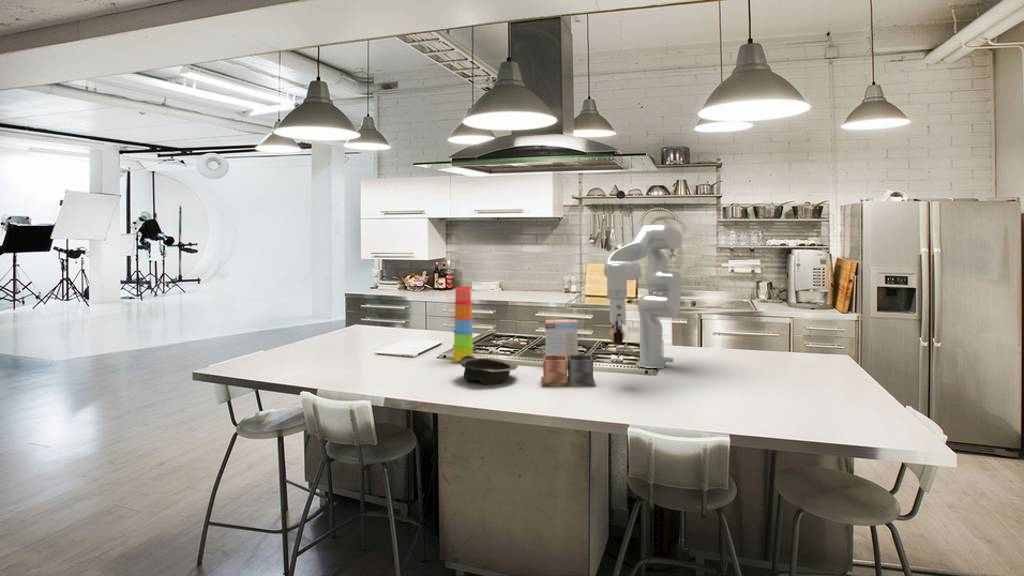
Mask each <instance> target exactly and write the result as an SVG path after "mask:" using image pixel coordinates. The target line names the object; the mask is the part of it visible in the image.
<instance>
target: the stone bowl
mask: <svg viewBox="0 0 1024 576" xmlns="http://www.w3.org/2000/svg"><path fill="white" fill-rule="evenodd" d="M456 362H458V363H457V364H460V365H461V367H462V368H464V372H463V379H464V381H466V382H476V381H480V382H481V384H482V385H485V384H487V386H489V385H488V384H491V385H493V384H494V385H497V383H498V384H500V383H502V382H506V380H507V379H508V377H509V375H510V373H511V371H515V370H517V368H518V367H519V366H518V364H517V363H515V362H512V361H508V360H505V359H500V358H495V357H494V358H493V357H480V358H477V357H475V356H474V355H473V356H469V355H468V356H464V357H463V358H462V359H461V360H460V361H456Z"/></svg>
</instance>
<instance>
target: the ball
mask: <svg viewBox="0 0 1024 576" xmlns="http://www.w3.org/2000/svg"><path fill="white" fill-rule="evenodd" d="M614 332H615V328H613V329H612V328H610V331H609V333H608V337H609V339H610V341H611V342H612V343H614ZM622 333H623V337H622V342H623V341H624V339H625V335H626V334H625V332H624V330H623V329H622Z"/></svg>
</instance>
